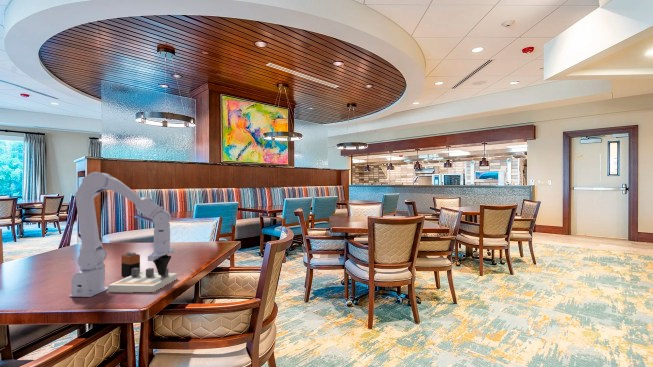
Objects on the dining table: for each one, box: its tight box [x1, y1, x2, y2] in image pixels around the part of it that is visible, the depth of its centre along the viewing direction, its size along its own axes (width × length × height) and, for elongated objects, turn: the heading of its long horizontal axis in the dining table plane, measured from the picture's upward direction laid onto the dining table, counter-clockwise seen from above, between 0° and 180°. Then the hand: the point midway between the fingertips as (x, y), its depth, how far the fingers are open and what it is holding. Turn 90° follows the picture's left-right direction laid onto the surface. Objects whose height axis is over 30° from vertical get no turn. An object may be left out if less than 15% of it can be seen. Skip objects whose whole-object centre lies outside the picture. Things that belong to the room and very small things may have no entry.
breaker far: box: [131, 268, 139, 276], centre depth 121 cm, size 2×2×3 cm
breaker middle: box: [145, 267, 155, 277], centre depth 120 cm, size 2×2×3 cm
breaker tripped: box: [161, 267, 169, 277], centre depth 120 cm, size 2×2×3 cm
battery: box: [120, 251, 141, 278], centre depth 130 cm, size 4×7×10 cm, turn 63°
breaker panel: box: [107, 272, 178, 293], centre depth 117 cm, size 16×17×3 cm
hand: (161, 274), depth 118 cm, fingers closed
